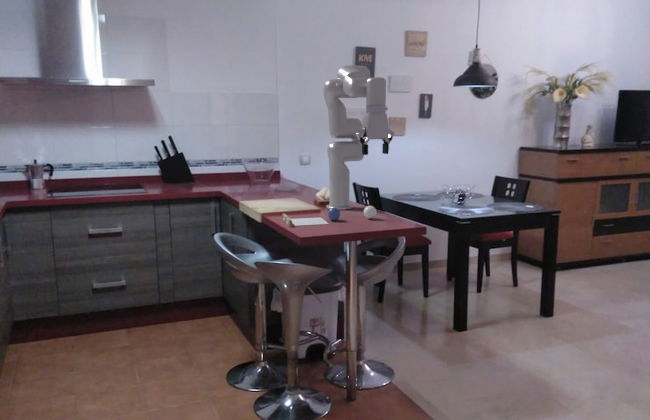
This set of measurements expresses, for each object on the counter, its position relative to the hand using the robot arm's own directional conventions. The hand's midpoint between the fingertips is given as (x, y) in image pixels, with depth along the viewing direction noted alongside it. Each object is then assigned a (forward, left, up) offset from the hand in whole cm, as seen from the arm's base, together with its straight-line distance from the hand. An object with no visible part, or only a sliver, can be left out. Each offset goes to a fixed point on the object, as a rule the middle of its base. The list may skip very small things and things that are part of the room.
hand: (375, 154), depth 211 cm
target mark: (-13, -25, -29) cm, 40 cm away
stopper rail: (-13, -34, -29) cm, 46 cm away
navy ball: (-13, -14, -26) cm, 32 cm away
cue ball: (-13, +2, -26) cm, 29 cm away
